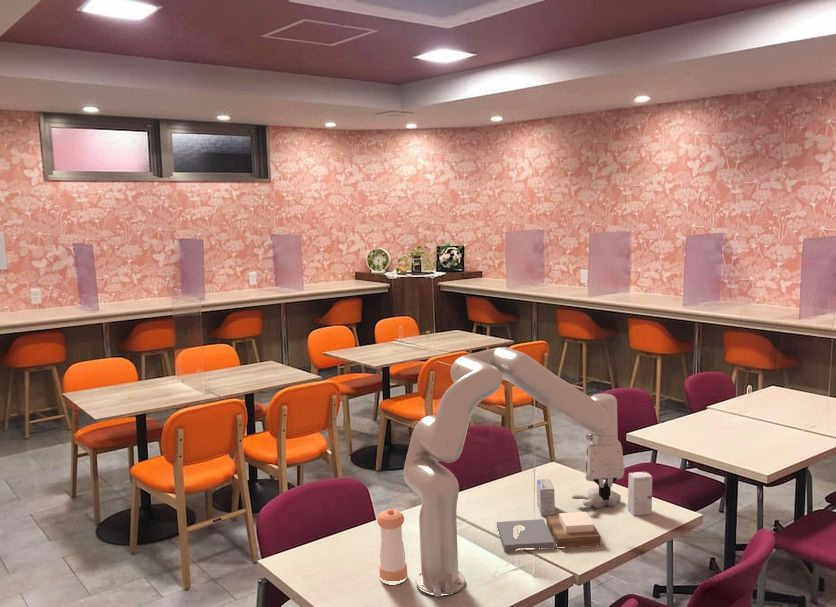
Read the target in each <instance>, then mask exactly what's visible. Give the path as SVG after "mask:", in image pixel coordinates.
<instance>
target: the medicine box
mask: <svg viewBox="0 0 836 607" xmlns="http://www.w3.org/2000/svg"><path fill="white" fill-rule="evenodd" d="M555 496H556V495H555V488H554V485H553V482H552V480H551V479H550V478H549V479H544V478H543V479H537V480H536V500H537V501H536V502H537V507H538V510H539V512H540V515H541V517H542V516H543V517H544V516H545V517H547V516H553V515H556V504H555V503H556V502H555V501H556V499H555Z"/></svg>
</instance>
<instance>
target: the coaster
mask: <svg viewBox="0 0 836 607" xmlns="http://www.w3.org/2000/svg"><path fill="white" fill-rule="evenodd" d="M558 515H559V521H560V523H561V525H562V526H563V528H564V530H565V532H566V533H570V532H586V531H594V526H595V525H594V523H593V521H592V519H591V518H590V516H589V514H588V513H587V512H586V511H577V512H561V513H558Z"/></svg>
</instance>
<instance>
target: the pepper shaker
mask: <svg viewBox="0 0 836 607" xmlns="http://www.w3.org/2000/svg"><path fill="white" fill-rule="evenodd" d="M404 522H405V516H404V514H403V513H402V512H401V511H400V510H396V509H392V508H388V509H387V510H382V511H381V512H379V514H378V516H377V519H376V523H377V525H378V526H379V527H380V548H379V560H380V561H379V562H380V564H379V566H378V567H379V570H378V571H379V578H380V577H381V578H382V579H383V580H386V581H400V580H403V579H405V578H406V577H407V578H408V564H407V562H406V551H405V547H404V541H403V532H402V531H403V530H402V528H403V527H402V526H403V524H404Z"/></svg>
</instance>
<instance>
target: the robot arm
mask: <svg viewBox="0 0 836 607" xmlns="http://www.w3.org/2000/svg"><path fill="white" fill-rule="evenodd" d="M450 378H451V380H452V382H453V383H452V384H451V385H450V386H449V387H448V388H447V389H446V390H445V392H444V393H443V394H442V397H441V399H440V401H439V403H438V408H437V410H436V414H435V415H427V416H424V417H422V418H421V419H420V420H419V421H417V423H416V425H415V426H414V429H413V430H412V434H411V436H410V441H409V445H408V449H407V452H406V459H405V462H404V467H403V478H404V481H405V483H406V485H407V486H408V487H409V488H410V489H411V490H412V491H413V492H414V493H416V495H417V496H419V497H420V499H421V507H420V510H419V516H418V526H419V527H418V528H419V548H420V551H419V552H420V569H421V571H420V572H419V573H418V574H417V576H416V578H415V585H416V584H417V586H418V587H419V588H421V589H422V590H424V591H426V592H429V593H433V594H434V595H435V596H434V597H436V598H439V597H442V596H441V594H451V593H455V592H457V593H459V592H460V591H461V590H463V588H464V586H465V584H466V582H465V580H466V578H465V576H464V574H463V573H462V572H461V571H459V556H458V555H459V554H458V553H459V552H458V526H457V523H458V522H457V507H458V500H459V493H460V488H459V487H460V486H459V482H458V479H457V477H456V476H455V475H454V473H452V471H451V470H449V469H448V468H447V467H445V466H444V465H442V463H446V464H451V463H454V462H456V461H457V460H459V458H460V457H461V455H462V452H463V449H464V446H465V442H466V436H467V433H468V429H469V424H470V421H471V417H472V415H473V411H474V410H475V409H476V407H477V406H478V405H479V404H480V403H481V402H483V401H484V400H485V399H487V398H489V397H491V396H493V395H494V394H495V393H496V392H498V390H499V389H500V388H501V386H502V382H503V380H505V381H507V382H509V383H510V384H512V385H513V386H514V387H516V388H518V389H519V390H521V391H522V392H524V393H525V394H527V395H528V396H530V397H531V398H532V399H533V400H535V401H537V402H538V403H539V404H541V405H544V406H545V407H546V408H550V409H551V410H554V411H556V412H559V413H561V416H562V418H563V419H564V420H565V421H566V422H568V423H569V424H572V425H575V426H576V427H579V428H582V429H584V430H586V431H588V434H585V435H584V438H585V440H588V442H587V446H586V453H585V454H586V455H585V466H584V467H585V472H586V474H585V477H584V478H585V480H586V481H588V482H594V483H595V484H596V485H597V486H598V489H599V496H600V497H601V498H602V499H603V501H605V500H609V496H611V490H612V487H613V484H614V483H615V482H616V481H618V480H621V479H624V475H625V462H624V455H623V453H624V452H623V447H622V444H621V441H620V440H619V439H618V438H619V437H618V399H617V398H616V397H615V396H614V395H613V394H610V393H595V394H593V395H590V396H589V395H588V394H587V393H585V392H583V391H581V390H580V389H578V388H576V387H575V386H574V385H572V384H570V382H567V381H566V380H565V379H562V378H561V377H559V376H557V375H556V374H555V373H553V372H552V371H550V369H548V368H546V367H545V366H543V365H542V364H541V363H539V361H537V360H535V359H534V358H533V357H531V356H529V354H526V353H524V352H522V351H519V350H516V349H513V348H510V347H508V346H501V347H500V346H499V347H494V348H489V349H486V350H485V349H484V350H481V351H478V352H472V353H469V354H465V355H462V356H460V357H458V358H457V359H455V361H454V362H453V363H452V365H451V367H450ZM439 462H442V463H439ZM421 575H422V576H421ZM417 586H416V587H417ZM421 586H423V587H421ZM459 590H460V591H459ZM455 594H456V593H455Z"/></svg>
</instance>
